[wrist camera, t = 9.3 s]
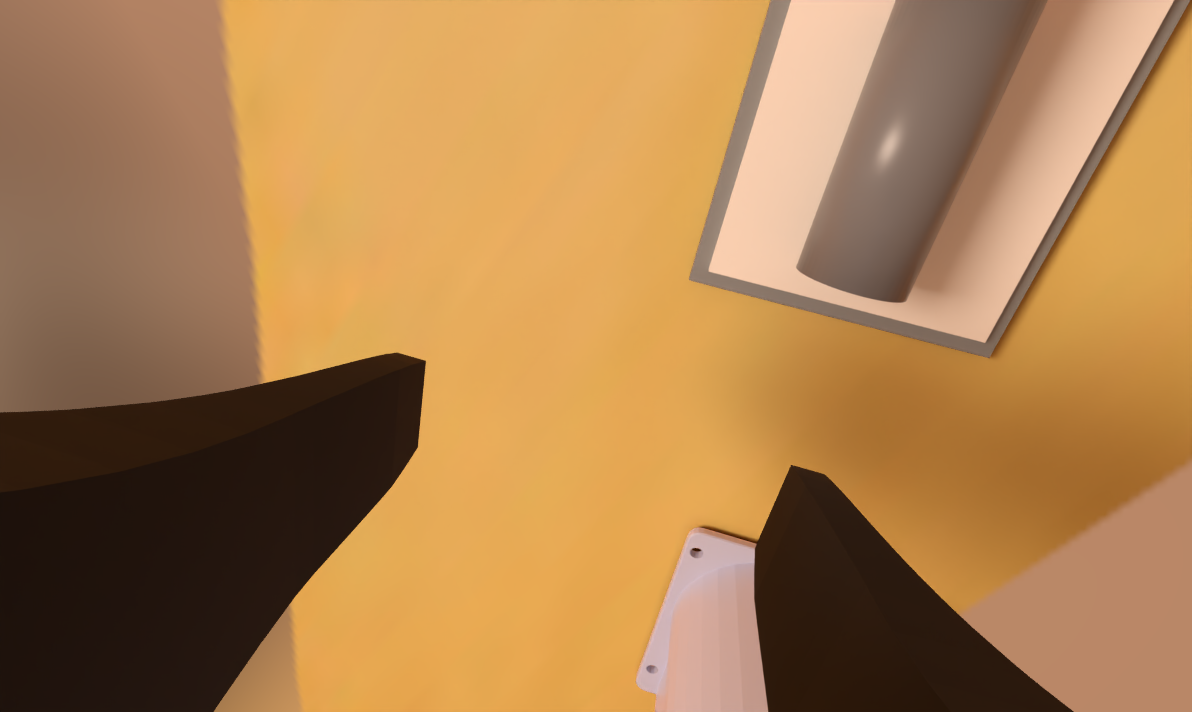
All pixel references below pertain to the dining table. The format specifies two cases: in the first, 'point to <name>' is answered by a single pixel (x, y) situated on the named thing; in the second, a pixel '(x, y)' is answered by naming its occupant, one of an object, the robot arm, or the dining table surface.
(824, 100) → the notepad
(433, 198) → the dining table surface
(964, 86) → the marker
